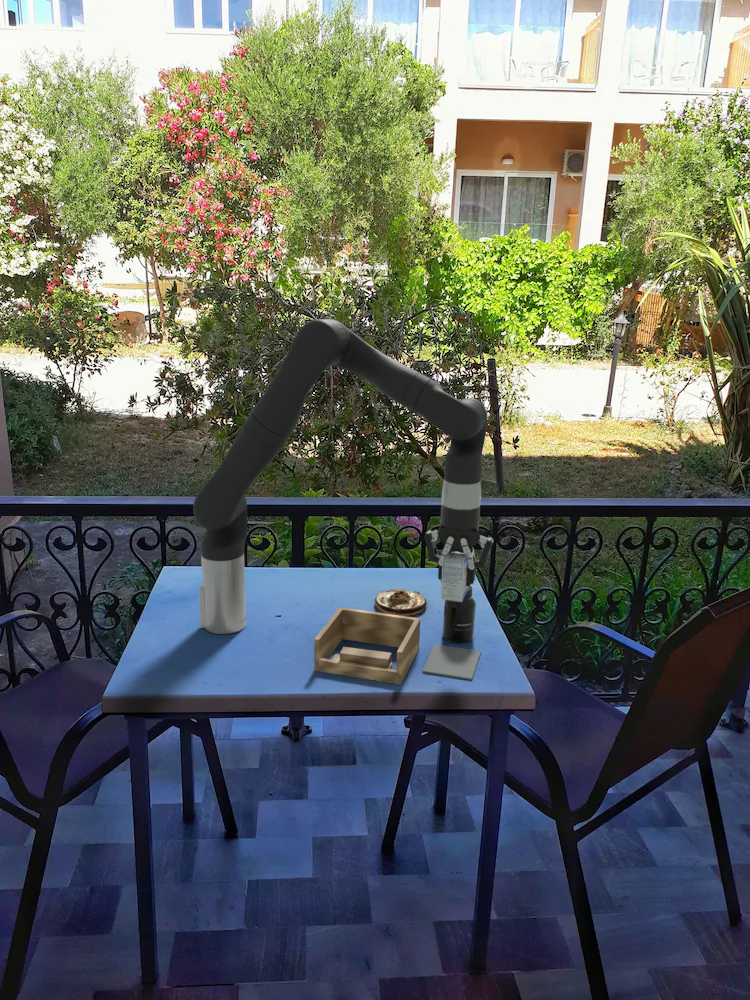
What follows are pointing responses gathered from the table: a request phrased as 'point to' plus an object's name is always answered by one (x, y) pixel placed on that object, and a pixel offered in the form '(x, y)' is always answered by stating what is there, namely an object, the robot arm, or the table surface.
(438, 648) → the mat
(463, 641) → the supplement bottle
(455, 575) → the medicine box
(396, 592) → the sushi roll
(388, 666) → the wooden block
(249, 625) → the table surface
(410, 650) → the tan wooden open box
